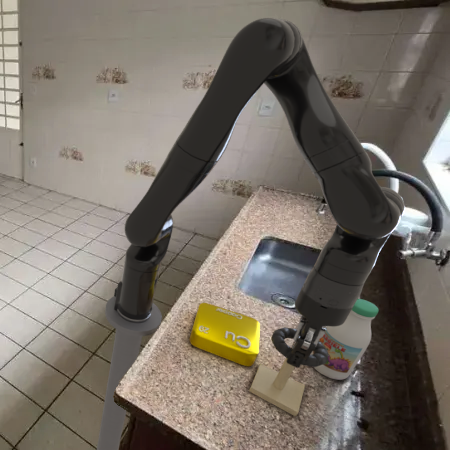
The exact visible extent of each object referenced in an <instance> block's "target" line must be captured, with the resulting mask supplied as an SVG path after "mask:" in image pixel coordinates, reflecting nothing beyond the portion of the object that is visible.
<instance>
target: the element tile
mask: <svg viewBox="0 0 450 450" xmlns="http://www.w3.org/2000/svg"><path fill="white" fill-rule="evenodd" d="M260 331H261V324H260V322H259V320H257V319H256V318H253V317H251V316H248V315H246V314H242V313H240V312H236V311H233V310H230V309H228V308H224V307H221V306H217V305H216V304H211V303H209V302H200V304H198V307H197V311H196V314H195V318H194V321H193V325H192V329H191V331H190V332H191V333H190V335H189V343H190V344H191V345H192V346H193V347H195V348H197V349H199V350H202V351H205V352H208V353H210V354H212V355H215V356H218V357H220V358H222V359H225V360H227V361H231V362H233V363H236V364H238V365H240V366H244V367H253V365H254V364H255V362H256V360H257V357H258V355H259V353H260V352H259V351H260V349H259V348H260Z"/></svg>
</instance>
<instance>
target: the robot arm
mask: <svg viewBox="0 0 450 450" xmlns="http://www.w3.org/2000/svg"><path fill="white" fill-rule="evenodd" d="M263 85H265V86H266V87H267V89H268V90H269V91H270V92H271V93H272V95H273V96H274V97H275V99H276V100H277V102H278V104H279V105H280V108H281V109H282V112H283V114H284V115H285V119H286V121H287V125H288V128H289V131H290V134H291V137H292V140H293V142H294V145H295V146H296V148H297V150H298V153H299V154H300V155H301V157H302V159H303V160H304V163H305V164H306V165H307V167H308V169H309V170H310V172H311V173H312V175H313V176H314V178H315V179H316V180H317V182H318V184H319V185H320V189H321V191H322V192H321V193H322V195H323V197H324V200H325V203H326V205H327V208H328V210H329V212H330V215H331V217H332V219H333V220H334V223H336V226H335V228H334V230H333V233H332V234H331V236H330V238H329V239H328V240H327V241H326V242H325V244H324V245H323V247H322V248H321V251H320V252H319V255H318V257H317V259H316V261H315V264H314V265H313V267H312V268H311V270H310V271H309V272H308V274H307V276H306V279H305V280H304V283H303V284H302V287H301V289H300V291H299V293H298V295H297V297H296V299H295V301H294V308H295V309H296V311H297V312H298V313H299V314H300V316H299V317H300V318H299V321H298V324H297V326H296V329H297V331H296V334H295V336H294V339H293V343H292V345H291V346H290V347H291V348H292V349H291V352H290V354H289V356H288V358H287V363H288V364H290V365H292V366H294V367H295V368H296V369H297V368H300V367H301V366H302V365H301V364H302V362H303V360H304V359H305V360H307V358H309V356H310V355H311V353H312V352H313V350H314V349H315V348H316V345H317V343H318V341H319V339H320V338H322V337H323V336H324V334H325V331H326V327H327V326H332V327H334V326H340V325H342V324H343V323H344V322H345V320H346V319H347V317H348V315H349V313H350V312H351V310H352V308H353V306H354V305H355V303H356V301H357V299H359V297H360V295H362V291H363V287H364V286H365V283H366V281H367V280H368V278H369V276H370V274H371V273H372V272H373V268H374V267H375V265H376V262H377V259H378V256H379V253H380V252H381V250H382V248H383V247H384V245H385V244H386V243H387V241H388V239H389V238H390V236H391V234H392V232H394V230H395V229H396V228H397V227H398V225H399V223H400V222H401V219H402V218H403V216H404V214H405V210H406V205H405V201H404V199H403V197H402V196H401V195H400V193H398V192H397V191H396V190H394V189H393V188H390V187H386V186H381V185H380V184H379V183H378V181H377V179H376V177H375V175H374V174H373V171H372V168H373V165H372V160H371V158H370V156H369V154H368V153H367V151H366V150H365V147H363V144H362V143H361V142H360V140H359V139H358V137H357V136H356V134H355V133H354V131H353V130H352V128H351V127H350V125H349V124H348V122H347V121H346V119H345V118H344V116H343V115H342V113H341V112H340V110H339V109H338V107H337V106H336V105H335V103H334V102H333V100H332V98H331V97H330V95H329V94H328V92H327V90H326V89H325V87H324V85H323V83H322V81H321V79H320V77H319V75H318V73H317V71H316V69H315V66H314V63H313V62H312V59H311V56H310V54H309V50H308V48H307V46H306V43H305V39H304V37H303V34H302V32H301V29H300V28H299V26H297V24H295V23H294V22H293V21H290V20H288V19H283V18H277V17H262V18H261V17H260V18H257V19H255V20H252V21H251V22H249V23H248V24H246V25H244V26H243V27H242V28H241V29H240V30H238V32H237V33H236V34H235V36H233V38H232V39H231V41H230V43H229V44H228V46H227V48H226V50H225V53H224V55H223V56H222V59H221V61H220V64H219V65H218V67H217V70H216V72H215V74H214V76H213V78H212V80H211V82H210V84H209V86H208V88H207V90H206V92H205V94H204V96H203V97H202V98H201V101H200V102H199V104H198V105H197V106H196V108H195V110H194V111H193V113H192V114H191V116H190V117H189V119H188V121H187V123H186V125H184V128H183V129H182V131H181V132H180V134H179V135H178V137H177V138H176V140H175V141H174V143H173V144H172V146H171V148H170V150H169V152H168V154H167V155H166V156H165V157H166V158H165V159H164V161H163V162H162V164H161V166H160V167H159V169H158V171H157V173H156V175H155V177H154V179H152V182H151V184H150V186H149V187H148V190H147V191H146V193H145V194H144V196H143V197H142V199H141V200H140V201H139V203H137V204H136V206H135V208H134V209H133V210H132V211H131V213H130V214H129V215H128V217H127V218H126V220H125V223H124V236H125V237H126V239H127V241H128V243H130V245H129V246H128V247H127V249H126V251H125V255H124V260H123V262H124V263H123V269H122V275H121V280H120V281H119V282H118V283H117V287H116V288H115V289H114V292H113V293H114V294H113V297H114V296H115V297H116V300H115V306H114V310H116V311H117V312H118V314H119V315H120V316H121V317H122V318H123V319H125V320H127V321H130V322H134V323H142V322H145V321H147V320H148V319H149V318H150V314H151V310H152V304H153V303H154V299H155V294H156V289H157V284H158V281H159V276H160V271H161V267H162V263H163V260H164V259H165V258H166V255H167V252H168V250H169V245H170V243H171V239H172V234H173V230H174V218H173V215H172V214H173V212H174V211H175V210H176V208H178V207H179V206H180V204H181V203H183V202H184V201H185V200H186V199H187V198H188V197H189V196H190V195H191V194H192V193H193V192H194V191H195V190H196V189H197V188H198V187H199V186H200V185H201V184H202V183H203V182H204V181H205V180H206V179H207V177H208V176H209V175H210V173H211V172H212V171H213V170H214V168H215V166H216V165H217V163H218V162H219V161H220V160H221V158H222V157H223V155H224V153H225V151H226V149H227V147H228V145H229V143H230V141H231V138H232V136H233V132H234V130H235V127H236V125H237V122H238V120H239V118H240V116H241V115H242V112H243V110H244V109H245V108H246V106H247V105H248V104H249V102H250V101H251V100H252V98H253V97H255V94H256V93H257V92H258V91H259V89H260V88H261V87H262V86H263ZM313 340H314V341H313Z"/></svg>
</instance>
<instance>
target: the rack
mask: <svg viewBox="0 0 450 450" xmlns="http://www.w3.org/2000/svg"><path fill="white" fill-rule="evenodd" d="M295 368H296V367H294V366H292V365H290V364H288V363H287V358H286V357H285V359H284V361H283V362H282V365H281V367H280V369H279V371H277V370H275V369H273V368H271V367H269V366H267V365H265V364H263V363H259V366H258V367H257V370H256V373H255V375H254V377H253V380H252V383H251V385H250V388H249V390H248V392H249V393H252V394H253V395H255V396H257V397H259V398H261V399H262V400H264V401H266V402H268V403H269V404H271V405H273V406H275V407H277V408H279V409H280V410H282V411H284V412H287V413H288V414H290V415H292V416H293V417H297V416H298V414H299V412H300V407H301V404H302V399H303V396H304V391H305V387H306V385H305V384H303V383H301V382H300V381H297V380H296V379H293V378H292V377H291V375H292V373H293V372H294V370H295Z"/></svg>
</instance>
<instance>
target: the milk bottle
mask: <svg viewBox="0 0 450 450" xmlns="http://www.w3.org/2000/svg"><path fill="white" fill-rule="evenodd" d="M378 313H379V308H378V306H376V304H375V303H373V302H370V301H368V300H365V299H362V298H358V299H357V301H356V303H355V305H354V306H353V308H352V310H351V312H350V313H349V315H348V317H347V319H346V320H345V322H344V323H343V324H342V325H340V326H334V327H332V326H326V327H325V329H326V331H325V334H324V336H323V337H322V338H320V339H319V341H320V342H321V343H322V344H323V345H324V347H325V348H326V350H327V351H328V354H329V355H328V360H327V363H325V364H323V365H320V366H317V367H313V369H315V370H316V371H317V372H318V373H319V374H321V375H323V376H325V377H327V378H330V379H332V380H339V381H341V380H342V381H343V380H345V379H347V378H348V377H349V376H350V375H351V373H352V372H353V370H354V369H355V368H356V366H357V365H358V363H359V361H360V360H361V358H362V357H363V355H364V353H365V352H366V350H367V348H368V347H369V345H370V343H371V340H372V328H371V326H372V321H373V320H374V319H375V318H376V316H377V315H378ZM312 354H314V351H313V352H312V353H311V354H310V355H312Z"/></svg>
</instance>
